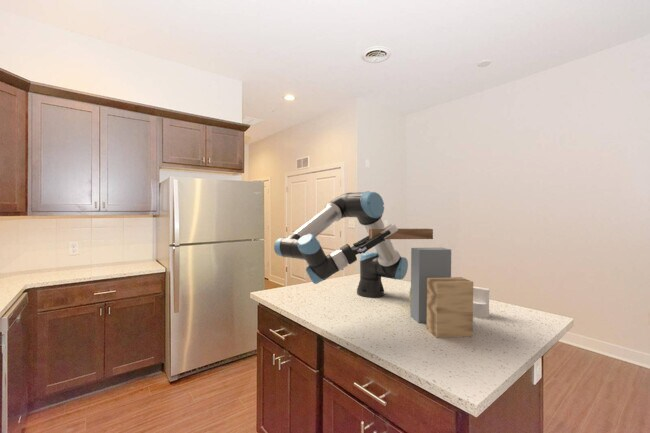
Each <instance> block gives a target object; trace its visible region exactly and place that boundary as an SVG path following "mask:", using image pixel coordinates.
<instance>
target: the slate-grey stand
mask: <svg viewBox="0 0 650 433" xmlns="http://www.w3.org/2000/svg"><path fill="white" fill-rule="evenodd" d="M410 250H411V251H410V288H411V306H410V317H411V318H412V319H413V320H415V322H417V323H418V324H425V323H426V324H427V278H449V277H452V249H451V248H450V249H449V248H446V247H411V248H410Z"/></svg>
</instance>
